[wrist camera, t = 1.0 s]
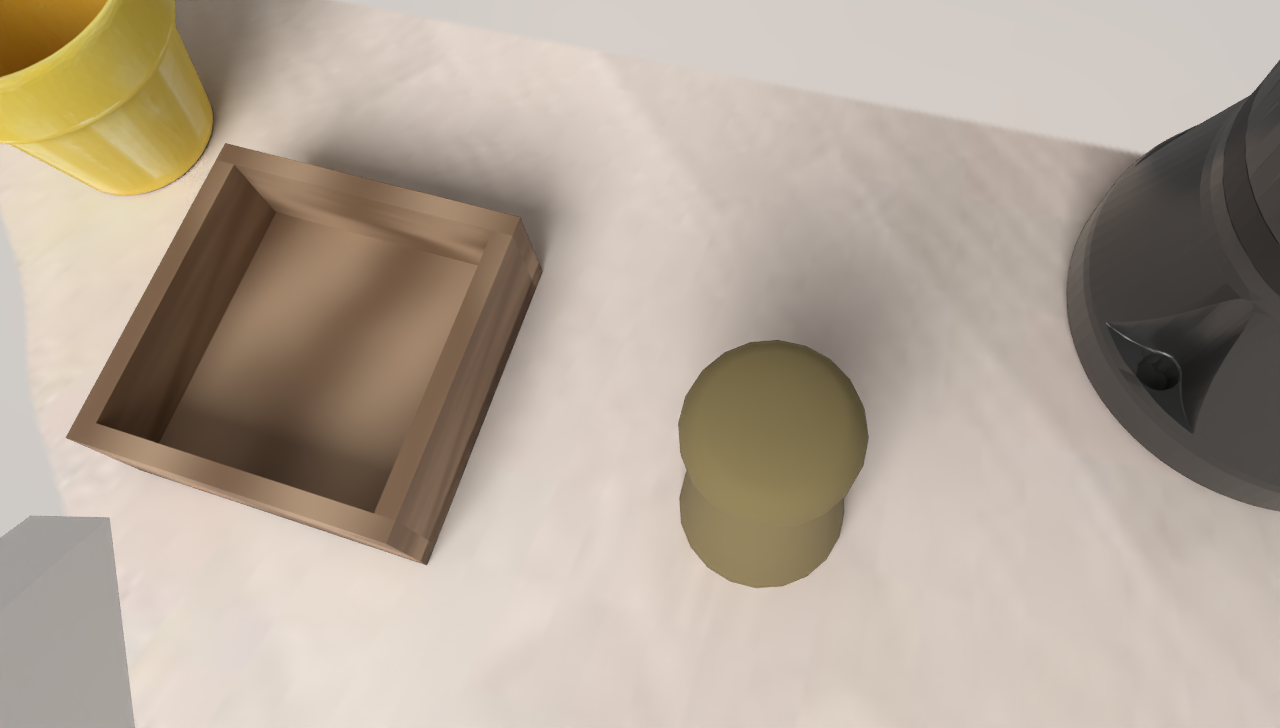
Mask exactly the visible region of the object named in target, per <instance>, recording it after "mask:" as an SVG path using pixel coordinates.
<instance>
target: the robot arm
mask: <svg viewBox="0 0 1280 728" xmlns="http://www.w3.org/2000/svg"><path fill="white" fill-rule="evenodd" d="M1067 309H1068V317H1069V324H1070V329H1071V334H1072V337H1073V341H1074V344H1075V348H1076V350H1077V353H1078V356H1079V358H1080V361H1081V363H1082V365H1083V368H1084V370H1085V372H1086V374H1087V376H1088V378H1089V380H1090V382H1091V383H1092V385H1093V387H1094V389H1095V390H1096V392H1097V393H1098V395H1099V396H1100V398H1101V399H1102V401H1103V402H1104V404H1105V405H1106V406H1107V408H1108V409H1109V410H1110V412H1111V413H1112V414H1113V416H1114V417H1115V418H1116V419H1117V420H1118V421H1119V422H1120V424H1121V425H1122V426H1123V427H1124V428H1125V429H1126V430H1127V431H1128V432H1129V433H1130V434H1131V435H1132V436H1133V437H1134V438H1135V439H1136V440H1137V441H1138V442H1139V443H1140V444H1141V445H1143V446H1144V447H1145V448H1146V449H1147V450H1148V451H1150V452H1151V453H1152V454H1153V455H1155V456H1156V457H1157V458H1158V459H1160V460H1161V461H1163V462H1164V463H1165V464H1167V465H1168V466H1170V467H1171V468H1173V469H1174V470H1176V471H1177V472H1179V473H1181V474H1182V475H1184V476H1186V477H1187V478H1189V479H1191V480H1193V481H1194V482H1196V483H1198V484H1200V485H1202V486H1204V487H1206V488H1208V489H1210V490H1213V491H1215V492H1217V493H1219V494H1222V495H1224V496H1227V497H1230V498H1232V499H1235V500H1238V501H1241V502H1244V503H1247V504H1250V505H1254V506H1257V507H1262V508H1266V509H1270V510H1275V511H1280V60H1279V62H1278V63H1277V64H1276V65H1275V66H1274V68H1273V69H1272V70H1271V72H1270V73H1269V74H1268V75H1267V77H1266V78H1265V79H1264V80H1263V82H1262V83H1261V84H1260V85H1259V86H1258V87H1257V89H1256V90H1255V91H1254V92H1253V93H1252V94H1251V95H1250V96H1248V97H1246V98H1245V99H1243V100H1241V101H1239V102H1238V103H1236V104H1234V105H1232V106H1231V107H1229V108H1227V109H1225V110H1224V111H1222V112H1220V113H1219V114H1217V115H1215V116H1213V117H1211V118H1210V119H1208V120H1206V121H1204V122H1203V123H1201V124H1199V125H1197V126H1194V127H1192V128H1190V129H1188V130H1186V131H1184V132H1182V133H1180V134H1177V135H1175V136H1173V137H1171V138H1170V139H1168V140H1166V141H1164V142H1162V143H1161V144H1159V145H1157V146H1156V147H1154V148H1153V149H1152V150H1150V151H1149V152H1147V153H1146V154H1145V155H1143V156H1142V157H1141V158H1140V159H1139V160H1138V161H1136V162H1135V163H1134V164H1133V165H1132V166H1131V167H1130V168H1128V169H1127V171H1126V172H1125V173H1124V174H1123V175H1122V176H1121V177H1120V178H1119V179H1118V180H1117V181H1116V183H1115V184H1114V185H1113V186H1112V188H1111V189H1110V190H1109V192H1108V193H1107V194H1106V196H1105V197H1104V199H1103V200H1102V201H1101V203H1100V204H1099V206H1098V207H1097V208H1096V210H1095V211H1094V213H1093V214H1092V215H1091V217H1090V218H1089V220H1088V221H1087V223H1086V225H1085V227H1084V229H1083V230H1082V232H1081V234H1080V237H1079V239H1078V241H1077V243H1076V246H1075V249H1074V252H1073V255H1072V259H1071V263H1070V268H1069V274H1068V282H1067ZM0 728H135V726H134V717H133V709H132V701H131V692H130V684H129V676H128V667H127V659H126V651H125V642H124V634H123V626H122V617H121V609H120V601H119V592H118V584H117V576H116V567H115V559H114V551H113V542H112V534H111V526H110V518H106V517H62V516H29V517H28V518H27V519H25V520H24V521H23V522H21V523H20V524H19V525H17V526H16V527H14V528H13V529H12V530H10V531H9V532H8V533H6V534H5V535H4V536H2V537H1V538H0Z"/></svg>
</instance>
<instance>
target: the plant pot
mask: <svg viewBox="0 0 1280 728" xmlns="http://www.w3.org/2000/svg"><path fill="white" fill-rule="evenodd" d="M175 18H176V7H175V0H0V144H10V145H12V146H14V147H16V148H18V149H19V150H21V151H23V152H25V153H27V154H29V155H31V156H33V157H35V158H37V159H39V160H41V161H43V162H44V163H46V164H48V165H50V166H52V167H54V168H56V169H58V170H60V171H62V172H64V173H66V174H67V175H69V176H71V177H73V178H75V179H77V180H79V181H81V182H83V183H84V184H86V185H88V186H90V187H92V188H94V189H96V190H99V191H101V192H104V193H108V194H113V195H138V194H143V193H147V192H151V191H154V190H157V189H159V188H161V187H164V186H166V185H168V184H170V183H172V182H173V181H175V180H176V179H178V178H179V177H181V176H182V175H184V174H185V173H186V172H187V171H188V170H189V169H190V168H191V167H192V166H193V165H194V164H195V163H196V161H197V160H198V159H199V157H200V156H201V155H202V153H203V151H204V150H205V147H206V145H207V143H208V141H209V138H210V135H211V131H212V126H213V114H212V108H211V105H210V102H209V100H208V97H207V95H206V93H205V90H204V88H203V86H202V84H201V82H200V80H199V77H198V75H197V73H196V71H195V68H194V66H193V64H192V62H191V59H190V57H189V55H188V53H187V51H186V48H185V46H184V44H183V42H182V39H181V37H180V35H179V33H178V30H177V28H176V26H175Z"/></svg>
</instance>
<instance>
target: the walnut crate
mask: <svg viewBox="0 0 1280 728" xmlns="http://www.w3.org/2000/svg"><path fill="white" fill-rule="evenodd" d="M541 274H542V269H541V267H540V264H539V262H538V259H537V257H536V255H535V252H534V250H533V247H532V245H531V242H530V240H529V237H528V235H527V233H526V230H525V228H524V225H523V223H522V220H521V218H520V217H517V216H513V215H509V214H506V213H502V212H498V211H494V210H490V209H486V208H482V207H478V206H474V205H470V204H466V203H462V202H458V201H454V200H450V199H446V198H442V197H438V196H434V195H430V194H426V193H422V192H418V191H414V190H410V189H406V188H402V187H398V186H394V185H390V184H386V183H382V182H378V181H374V180H370V179H366V178H362V177H358V176H354V175H350V174H346V173H342V172H338V171H334V170H330V169H326V168H322V167H318V166H314V165H310V164H306V163H302V162H298V161H294V160H290V159H286V158H282V157H278V156H274V155H270V154H266V153H262V152H258V151H254V150H251V149H247V148H243V147H239V146H235V145H231V144H227V143H225V145H224V147H223V148H222V150H221V152H220V154H219V156H218V158H217V159H216V161H215V163H214V165H213V167H212V169H211V171H210V172H209V174H208V176H207V178H206V180H205V182H204V183H203V185H202V187H201V189H200V191H199V193H198V195H197V196H196V198H195V200H194V202H193V204H192V206H191V207H190V209H189V211H188V213H187V215H186V217H185V218H184V220H183V222H182V224H181V226H180V228H179V230H178V231H177V233H176V235H175V237H174V239H173V241H172V242H171V244H170V246H169V248H168V250H167V252H166V254H165V255H164V257H163V259H162V261H161V263H160V265H159V266H158V268H157V270H156V272H155V274H154V276H153V278H152V279H151V281H150V283H149V285H148V287H147V289H146V290H145V292H144V294H143V296H142V298H141V300H140V302H139V303H138V305H137V307H136V309H135V311H134V313H133V314H132V316H131V318H130V320H129V322H128V324H127V326H126V327H125V329H124V331H123V333H122V335H121V337H120V338H119V340H118V342H117V344H116V346H115V348H114V349H113V351H112V353H111V355H110V357H109V359H108V361H107V362H106V364H105V366H104V368H103V370H102V372H101V373H100V375H99V377H98V379H97V381H96V383H95V385H94V386H93V388H92V390H91V392H90V394H89V396H88V397H87V399H86V401H85V403H84V405H83V407H82V409H81V410H80V412H79V414H78V416H77V418H76V420H75V421H74V423H73V425H72V427H71V429H70V431H69V433H68V434H67V436H66V438H67V439H70V440H72V441H74V442H77V443H79V444H81V445H84V446H86V447H88V448H91V449H93V450H95V451H97V452H100V453H102V454H104V455H107V456H109V457H111V458H114V459H116V460H118V461H121V462H123V463H125V464H128V465H130V466H132V467H135V468H137V469H139V470H142V471H145V472H148V473H151V474H154V475H157V476H160V477H163V478H166V479H169V480H172V481H175V482H178V483H181V484H184V485H187V486H190V487H193V488H196V489H199V490H202V491H205V492H208V493H211V494H214V495H217V496H220V497H223V498H226V499H229V500H232V501H235V502H238V503H241V504H244V505H247V506H250V507H253V508H256V509H259V510H262V511H265V512H268V513H271V514H274V515H277V516H280V517H283V518H286V519H289V520H293V521H296V522H299V523H302V524H305V525H308V526H311V527H314V528H317V529H320V530H323V531H326V532H329V533H332V534H335V535H338V536H341V537H344V538H347V539H350V540H353V541H356V542H359V543H362V544H365V545H368V546H371V547H374V548H377V549H380V550H383V551H386V552H389V553H392V554H395V555H398V556H401V557H404V558H407V559H410V560H413V561H416V562H419V563H422V564H425V565H427V563H428V561H429V558H430V556H431V553H432V551H433V548H434V545H435V543H436V540H437V538H438V535H439V533H440V530H441V528H442V525H443V523H444V520H445V518H446V515H447V512H448V510H449V507H450V505H451V502H452V500H453V497H454V495H455V492H456V490H457V487H458V485H459V482H460V479H461V477H462V474H463V472H464V469H465V467H466V464H467V462H468V459H469V457H470V454H471V452H472V449H473V446H474V444H475V441H476V439H477V436H478V434H479V431H480V429H481V426H482V424H483V421H484V419H485V416H486V413H487V411H488V408H489V406H490V403H491V401H492V398H493V396H494V393H495V391H496V388H497V386H498V383H499V380H500V378H501V375H502V373H503V370H504V368H505V365H506V363H507V360H508V358H509V355H510V353H511V350H512V347H513V345H514V342H515V340H516V337H517V335H518V332H519V330H520V327H521V325H522V322H523V320H524V317H525V314H526V312H527V309H528V307H529V304H530V302H531V299H532V297H533V294H534V292H535V289H536V287H537V284H538V281H539V279H540V276H541Z"/></svg>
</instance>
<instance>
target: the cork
mask: <svg viewBox="0 0 1280 728" xmlns="http://www.w3.org/2000/svg"><path fill="white" fill-rule="evenodd" d="M678 426H679V440H680V453H681V457H682V459H683V462H684V464H685V467H686V469H687V472H686V474H685V478H684V482H683V486H682V490H681V494H680V498H679V499H680V513H681V524H682V526H683V529H684V531H685V534H686V536H687V539H688V541H689V544H690V546H691V548H692V549H693V550H694V551H695V553H696V554H697V555H698V556H699V557H700V559H701V560H702V561H703V562H704V563H705V565H706V566H707V567H708V568H710V569H711V570H713V571H715V572H716V573H718V574H719V575H721V576H722V577H724V578H726V579H727V580H729V581H731V582H735V583H739V584H742V585H746V586H750V587H754V588H763V587H778V586H784V585H787V584H789V583H792V582H794V581H796V580H799V579H801V578H804V577H806V576H808V575H809V574H810V573H811V572H812V571H813V570H815V569H816V568H817V567H818V566H819V565H820V564H821V563H823V562H824V561H825V560H826V559H827V557H828V556H829V554H830V552H831V550H832V549H833V547H834V545H835V543H836V542H837V540H838V538H839V535H840V530H841V525H842V520H843V515H844V504H843V498H844V497H845V496H846V494H847V493H848V491H849V489H850V488H851V486H852V484H853V483H854V481H855V479H856V477H857V476H858V474H859V472H860V470H861V469H862V467H863V464H864V459H865V454H866V449H867V443H868V438H869V437H868V430H867V423H866V417H865V410H864V407H863V404H862V402H861V400H860V398H859V396H858V394H857V392H856V390H855V388H854V386H853V384H852V382H851V381H850V379H849V378H848V377H847V376H846V375H845V374H844V373H843V372H842V371H841V370H840V369H839V368H838V367H837V366H836V365H835V364H834V363H833V362H832V361H831V360H830V359H829V358H827V357H825V356H823V355H821V354H819V353H818V352H816V351H814V350H812V349H810V348H808V347H807V346H803V345H799V344H794V343H789V342H784V341H780V340H774V341H762V342H750V343H748V344H745V345H742V346H740V347H737V348H735V349H732V350H730V351H727V352H725V353H723V354H722V355H721V356H720V357H718V358H717V359H716V360H715V361H714V362H712V363H711V364H710V365H709V366H707V367H706V368H705V369H704V370H703V371H702V372H701V373H700V375H699V377H698V378H697V380H696V381H695V383H694V384H693V386H692V387H691V389H690V390H689V392H688V393H687V395H686V396H685V400H684V404H683V407H682V411H681V415H680V419H679V423H678Z"/></svg>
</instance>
